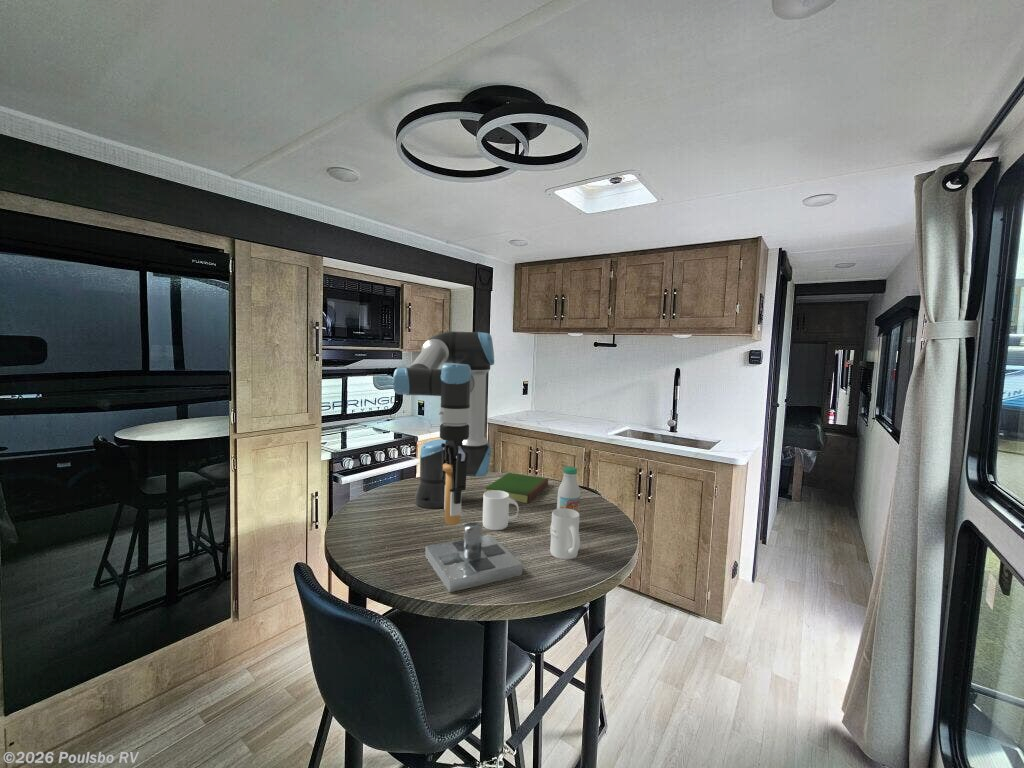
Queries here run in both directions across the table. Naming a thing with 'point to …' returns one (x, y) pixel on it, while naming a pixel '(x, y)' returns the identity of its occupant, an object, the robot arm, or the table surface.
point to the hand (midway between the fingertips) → (452, 511)
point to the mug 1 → (497, 510)
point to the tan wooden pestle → (449, 496)
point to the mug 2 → (565, 533)
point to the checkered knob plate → (472, 560)
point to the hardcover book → (519, 486)
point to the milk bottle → (569, 490)
